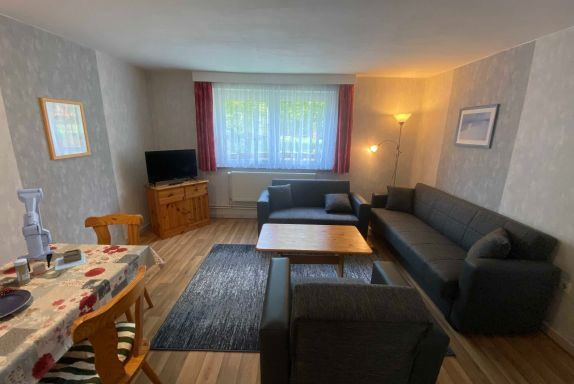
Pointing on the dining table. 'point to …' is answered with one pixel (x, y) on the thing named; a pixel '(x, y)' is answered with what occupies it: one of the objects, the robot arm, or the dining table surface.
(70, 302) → the dining table surface
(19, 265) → the spice jar
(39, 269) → the terracotta block
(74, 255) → the frame
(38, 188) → the robot arm
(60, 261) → the board
